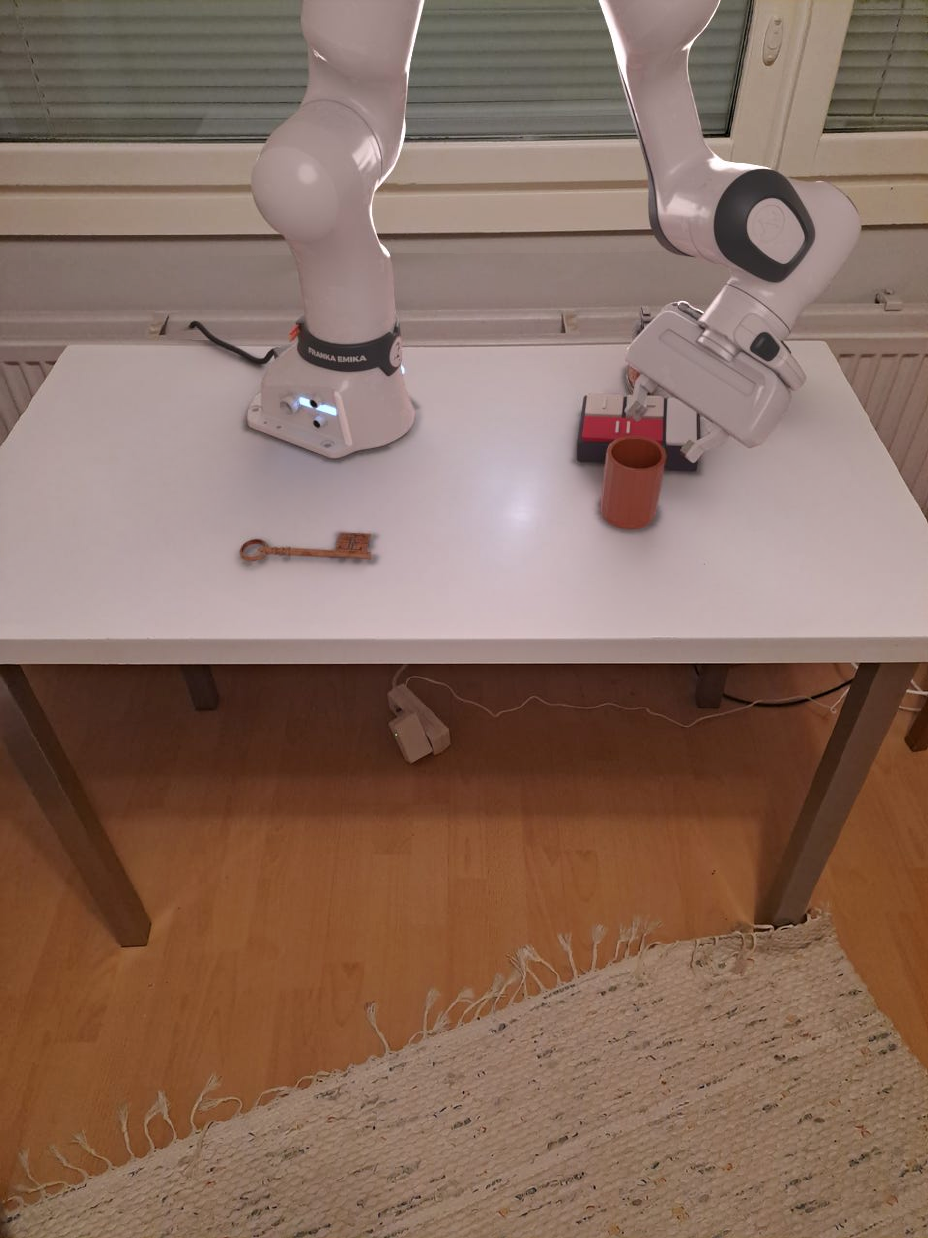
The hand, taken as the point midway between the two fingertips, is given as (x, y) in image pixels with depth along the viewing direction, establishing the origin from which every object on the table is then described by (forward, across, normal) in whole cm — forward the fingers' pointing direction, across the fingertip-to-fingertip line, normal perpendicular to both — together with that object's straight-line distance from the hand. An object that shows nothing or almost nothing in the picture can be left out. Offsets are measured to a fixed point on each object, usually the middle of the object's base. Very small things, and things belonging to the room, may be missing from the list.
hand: (657, 436), depth 103 cm
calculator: (+2, -10, +12) cm, 16 cm away
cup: (+9, 0, +5) cm, 10 cm away
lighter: (-5, -21, +18) cm, 28 cm away
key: (+34, -15, -20) cm, 42 cm away
